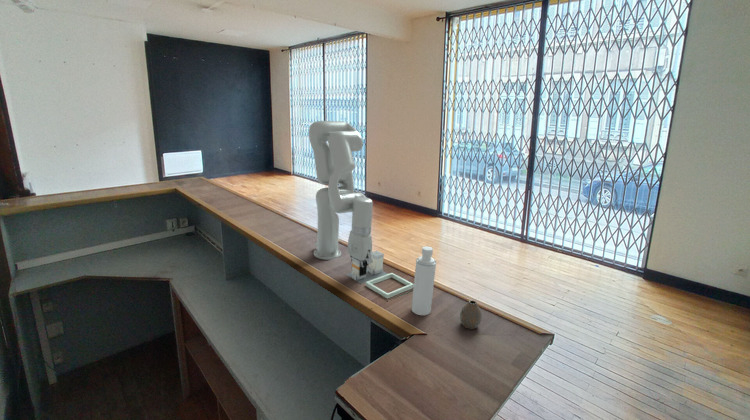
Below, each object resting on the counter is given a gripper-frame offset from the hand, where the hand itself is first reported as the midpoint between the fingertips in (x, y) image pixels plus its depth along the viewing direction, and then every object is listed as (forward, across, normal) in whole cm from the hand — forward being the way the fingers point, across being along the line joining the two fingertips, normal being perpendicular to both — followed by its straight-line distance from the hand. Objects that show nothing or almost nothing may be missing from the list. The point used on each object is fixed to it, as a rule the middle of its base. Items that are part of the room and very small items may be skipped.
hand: (358, 272), depth 149 cm
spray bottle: (+3, +30, +4) cm, 31 cm away
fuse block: (+3, 0, +4) cm, 6 cm away
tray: (+3, +13, +4) cm, 14 cm away
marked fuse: (+2, 0, 0) cm, 2 cm away
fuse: (+2, 0, +9) cm, 9 cm away
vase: (+3, +46, +10) cm, 47 cm away
